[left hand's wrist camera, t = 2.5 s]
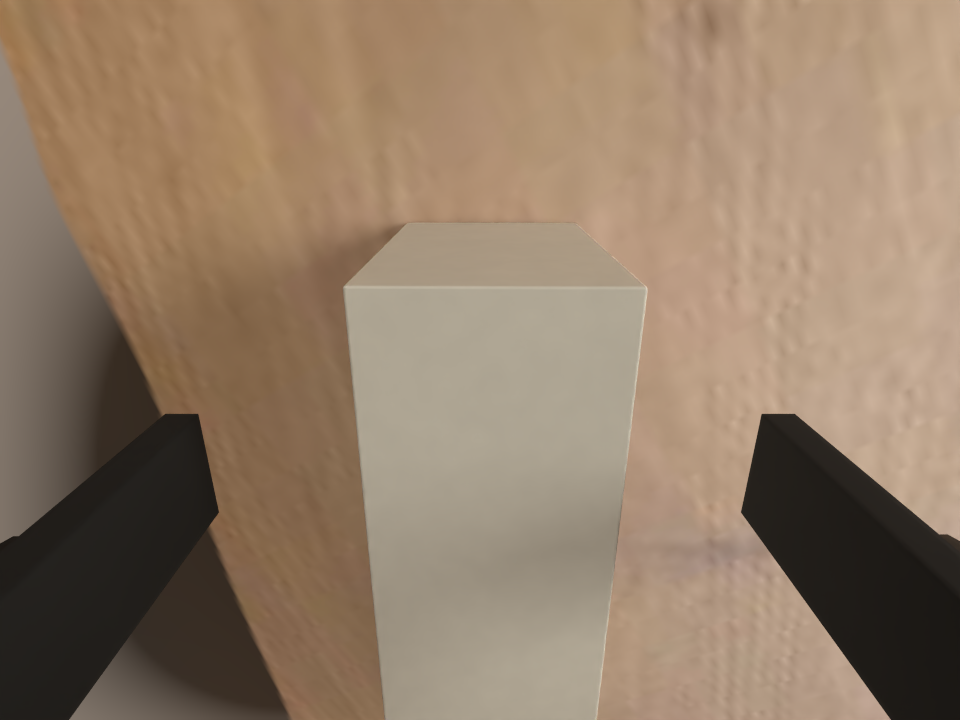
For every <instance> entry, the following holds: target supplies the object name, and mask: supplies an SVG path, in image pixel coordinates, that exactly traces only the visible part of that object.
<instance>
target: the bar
mask: <svg viewBox="0 0 960 720" xmlns="http://www.w3.org/2000/svg"><path fill="white" fill-rule="evenodd" d="M343 294H344V304H345V315H346V325H347V335H348V346H349V356H350V366H351V377H352V387H353V397H354V407H355V418H356V428H357V438H358V449H359V459H360V469H361V480H362V490H363V500H364V511H365V521H366V531H367V542H368V552H369V562H370V573H371V583H372V593H373V603H374V614H375V624H376V634H377V645H378V655H379V665H380V676H381V686H382V696H383V707H384V717H385V720H597V711H598V703H599V694H600V686H601V678H602V669H603V661H604V652H605V644H606V635H607V627H608V618H609V610H610V602H611V593H612V585H613V576H614V568H615V559H616V551H617V543H618V534H619V526H620V517H621V509H622V500H623V492H624V483H625V475H626V467H627V458H628V450H629V441H630V433H631V424H632V416H633V407H634V399H635V391H636V382H637V374H638V365H639V357H640V348H641V340H642V332H643V323H644V315H645V306H646V298H647V287H646V286H645V285H644V284H643V283H642V282H641V281H640V280H638V279H637V278H636V277H635V276H634V275H633V274H632V273H631V272H630V271H628V270H627V269H626V268H625V267H624V266H623V265H622V264H621V263H620V262H618V261H617V260H616V259H615V258H614V257H613V256H612V255H611V254H610V253H609V252H607V251H606V250H605V249H604V248H603V247H602V246H601V245H600V244H599V243H597V242H596V241H595V240H594V239H593V238H592V237H591V236H590V235H589V234H587V233H586V232H585V231H584V230H583V229H582V228H581V227H580V226H579V225H578V224H576V223H407V224H406V225H405V226H404V227H403V228H402V229H401V230H400V231H399V232H398V233H397V234H396V235H395V236H394V237H393V238H392V239H391V240H390V241H388V242H387V243H386V244H385V245H384V246H383V247H382V248H381V249H380V250H379V251H378V252H377V253H376V254H375V255H374V256H373V257H372V258H371V259H370V260H369V261H368V262H367V263H366V264H365V265H364V266H363V267H362V268H361V269H360V270H359V271H358V272H357V273H356V274H355V275H354V276H353V277H352V278H351V279H350V280H349V281H348V282H347V283H346V284H345V285H344V287H343Z"/></svg>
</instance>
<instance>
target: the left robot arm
mask: <svg viewBox="0 0 960 720" xmlns="http://www.w3.org/2000/svg"><path fill="white" fill-rule="evenodd" d="M218 513H219V511H218V506H217V501H216V496H215V492H214V487H213V482H212V477H211V473H210V468H209V463H208V458H207V454H206V449H205V444H204V439H203V435H202V430H201V425H200V420H199V415H198V414H165V415H164V416H162V417H161V418H160V419H159V420H158V421H156V422H155V423H154V424H153V425H152V426H150V427H149V428H148V429H147V430H146V431H144V432H143V433H142V434H141V435H140V436H138V437H137V438H136V439H135V440H134V441H132V442H131V443H130V444H129V445H128V446H126V447H125V448H124V449H123V450H122V451H120V452H119V453H118V454H117V455H116V456H114V457H113V458H112V459H111V460H110V461H109V462H107V463H106V464H105V465H104V466H102V467H101V468H100V469H99V470H98V471H97V472H95V473H94V474H93V475H92V476H91V477H89V478H88V479H87V480H86V481H85V482H83V483H82V484H81V485H80V486H79V487H77V488H76V489H75V490H74V491H73V492H71V493H70V494H69V495H68V496H67V497H65V498H64V499H63V500H62V501H61V502H59V503H58V504H57V505H56V506H55V507H53V508H52V509H51V510H50V511H49V512H47V513H46V514H45V515H44V516H43V517H41V518H40V519H39V520H38V521H37V522H35V523H34V524H33V525H32V526H31V527H29V528H28V529H27V530H26V531H25V532H23V533H22V534H21V535H20V536H13V537H11V538H9V539H8V540H6V541H4V542H2V543H0V720H69V719H70V717H71V716H72V715H73V713H74V712H75V711H76V709H77V708H78V706H79V705H80V704H81V702H82V701H83V700H84V698H85V697H86V695H87V694H88V693H89V691H90V690H91V689H92V687H93V686H94V684H95V683H96V682H97V680H98V679H99V677H100V676H101V675H102V673H103V672H104V671H105V669H106V668H107V666H108V665H109V664H110V662H111V661H112V659H113V658H114V657H115V655H116V654H117V653H118V651H119V650H120V648H121V647H122V646H123V644H124V643H125V641H126V640H127V639H128V637H129V636H130V635H131V633H132V632H133V630H134V629H135V628H136V626H137V625H138V624H139V622H140V621H141V619H142V618H143V617H144V615H145V614H146V612H147V611H148V610H149V608H150V607H151V605H152V604H153V603H154V601H155V600H156V599H157V597H158V596H159V594H160V593H161V592H162V590H163V589H164V588H165V586H166V585H167V583H168V582H169V581H170V579H171V578H172V576H173V575H174V574H175V572H176V571H177V570H178V568H179V567H180V565H181V564H182V563H183V561H184V560H185V559H186V557H187V556H188V554H189V553H190V552H191V550H192V549H193V547H194V546H195V545H196V543H197V542H198V541H199V539H200V538H201V536H202V535H203V534H204V532H205V531H206V529H207V528H208V527H209V525H210V524H211V523H212V521H213V520H214V518H215V517H216V516H217V514H218ZM741 513H742V514H743V516H744V517H745V518H746V520H747V521H748V523H749V524H750V525H751V527H752V528H753V529H754V531H755V532H756V534H757V535H758V536H759V538H760V539H761V541H762V542H763V543H764V545H765V546H766V547H767V549H768V550H769V552H770V553H771V554H772V556H773V557H774V559H775V560H776V561H777V563H778V564H779V565H780V567H781V568H782V570H783V571H784V572H785V574H786V575H787V576H788V578H789V579H790V581H791V582H792V583H793V585H794V586H795V588H796V589H797V590H798V592H799V593H800V594H801V596H802V597H803V599H804V600H805V601H806V603H807V604H808V606H809V607H810V608H811V610H812V611H813V612H814V614H815V615H816V617H817V618H818V619H819V621H820V622H821V624H822V625H823V626H824V628H825V629H826V630H827V632H828V633H829V635H830V636H831V637H832V639H833V640H834V641H835V643H836V644H837V646H838V647H839V648H840V650H841V651H842V653H843V654H844V655H845V657H846V658H847V659H848V661H849V662H850V664H851V665H852V666H853V668H854V669H855V671H856V672H857V673H858V675H859V676H860V677H861V679H862V680H863V682H864V683H865V684H866V686H867V687H868V689H869V690H870V691H871V693H872V694H873V695H874V697H875V698H876V700H877V701H878V702H879V704H880V705H881V706H882V708H883V709H884V711H885V712H886V713H887V715H888V716H889V718H890V719H891V720H960V541H958V540H957V539H955V538H953V537H951V536H949V535H939V534H938V533H937V532H935V531H934V530H933V529H932V528H931V527H929V526H928V525H927V524H926V523H925V522H923V521H922V520H921V519H920V518H919V517H917V516H916V515H915V514H914V513H913V512H911V511H910V510H909V509H908V508H907V507H905V506H904V505H903V504H902V503H901V502H899V501H898V500H897V499H896V498H895V497H893V496H892V495H891V494H890V493H889V492H887V491H886V490H885V489H884V488H883V487H881V486H880V485H879V484H878V483H877V482H876V481H874V480H873V479H872V478H871V477H870V476H868V475H867V474H866V473H865V472H864V471H862V470H861V469H860V468H859V467H858V466H856V465H855V464H854V463H853V462H852V461H850V460H849V459H848V458H847V457H846V456H844V455H843V454H842V453H841V452H840V451H838V450H837V449H836V448H835V447H834V446H832V445H831V444H830V443H829V442H828V441H826V440H825V439H824V438H823V437H822V436H820V435H819V434H818V433H817V432H816V431H814V430H813V429H812V428H811V427H810V426H808V425H807V424H806V423H805V422H804V421H802V420H801V419H800V418H799V417H798V416H796V415H795V414H762V415H761V420H760V425H759V430H758V435H757V439H756V444H755V449H754V454H753V458H752V463H751V468H750V473H749V477H748V482H747V487H746V492H745V496H744V501H743V506H742V511H741Z"/></svg>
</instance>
